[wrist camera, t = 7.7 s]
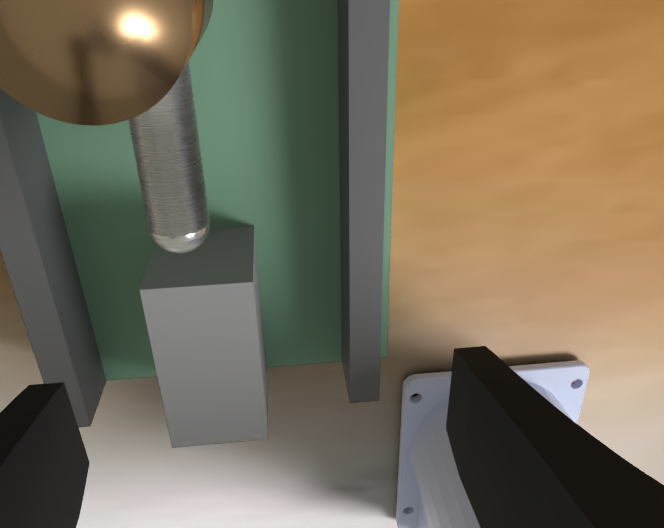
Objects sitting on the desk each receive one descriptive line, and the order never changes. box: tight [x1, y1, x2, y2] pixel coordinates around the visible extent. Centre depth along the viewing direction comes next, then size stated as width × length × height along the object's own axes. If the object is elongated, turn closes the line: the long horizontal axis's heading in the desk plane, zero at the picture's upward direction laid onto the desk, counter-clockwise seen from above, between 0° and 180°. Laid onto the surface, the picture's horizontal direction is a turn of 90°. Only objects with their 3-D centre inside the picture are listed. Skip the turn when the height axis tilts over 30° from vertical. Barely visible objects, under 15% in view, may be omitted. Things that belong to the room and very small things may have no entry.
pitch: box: [0, 0, 399, 448], centre depth 15 cm, size 24×12×5 cm, turn 1°
